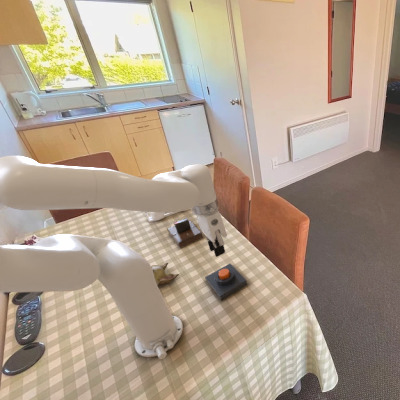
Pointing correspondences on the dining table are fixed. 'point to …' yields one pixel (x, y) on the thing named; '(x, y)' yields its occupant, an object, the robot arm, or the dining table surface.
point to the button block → (226, 282)
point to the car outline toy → (157, 216)
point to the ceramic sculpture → (162, 274)
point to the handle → (182, 225)
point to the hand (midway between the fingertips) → (217, 251)
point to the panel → (185, 235)
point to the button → (224, 274)
